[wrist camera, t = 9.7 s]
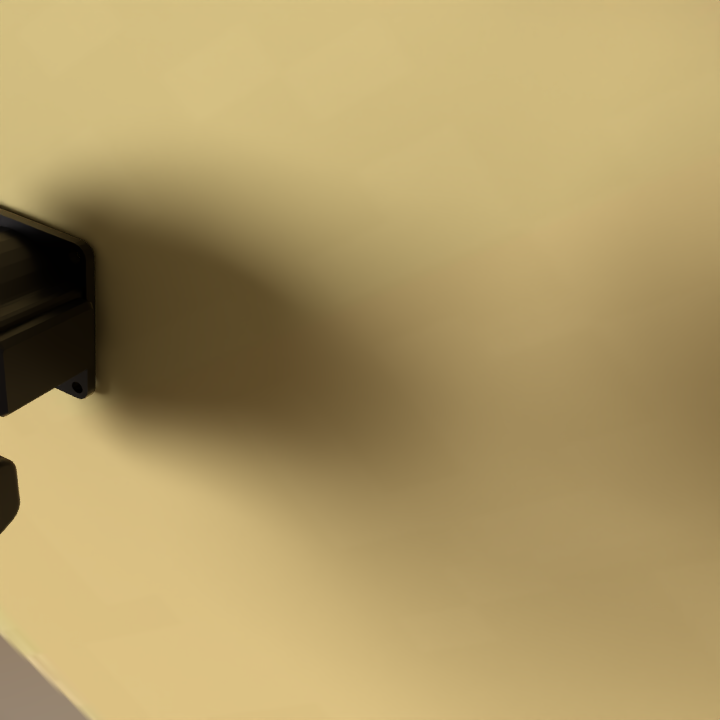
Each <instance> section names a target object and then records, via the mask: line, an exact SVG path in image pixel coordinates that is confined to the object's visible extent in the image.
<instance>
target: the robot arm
mask: <svg viewBox="0 0 720 720" xmlns="http://www.w3.org/2000/svg"><path fill="white" fill-rule="evenodd" d="M77 252H78V254H79V255H80V258H79V256H78V254H77ZM54 388H57V389H59V390H61V391H63V392H65V393H68V394H70V395H72V396H74V397H76V398H79V399H84V398H86V397H88V396H89V395H91V394H92V393H93V392H94V390H95V279H94V253H93V251H92V248H91V247H90V246H89V244H88V243H87V242H85V241H83V240H81V239H79V238H76V237H73V236H71V235H68V234H66V233H63V232H60V231H58V230H55V229H53V228H50V227H48V226H45V225H42V224H40V223H37V222H35V221H32V220H29V219H27V218H24V217H22V216H19V215H17V214H14V213H11V212H9V211H6V210H4V209H1V208H0V416H1V417H4V416H7V415H9V414H11V413H12V412H14V411H16V410H17V409H19V408H21V407H23V406H24V405H26V404H28V403H29V402H31V401H33V400H35V399H36V398H38V397H40V396H42V395H43V394H45V393H47V392H48V391H50V390H52V389H54ZM19 506H20V496H19V487H18V479H17V470H16V466H15V464H14V463H13V462H12V461H11V460H9V459H7V458H4V457H2V456H0V534H1V533H2V532H3V531H4V530H5V528H6V527H7V526H8V525H9V524H10V523H11V522H12V520H13V519H14V518H15V516H16V514H17V512H18V510H19Z"/></svg>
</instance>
